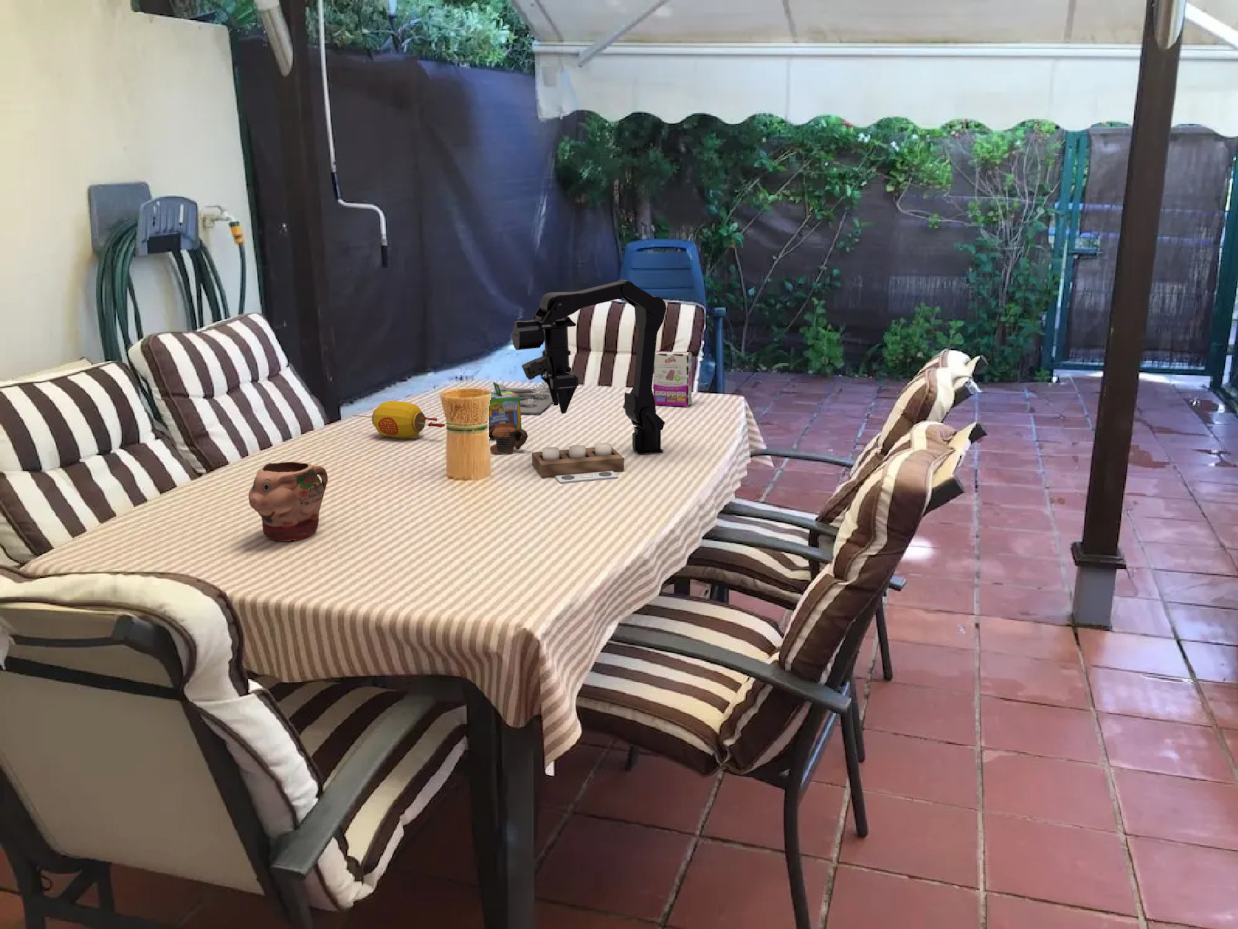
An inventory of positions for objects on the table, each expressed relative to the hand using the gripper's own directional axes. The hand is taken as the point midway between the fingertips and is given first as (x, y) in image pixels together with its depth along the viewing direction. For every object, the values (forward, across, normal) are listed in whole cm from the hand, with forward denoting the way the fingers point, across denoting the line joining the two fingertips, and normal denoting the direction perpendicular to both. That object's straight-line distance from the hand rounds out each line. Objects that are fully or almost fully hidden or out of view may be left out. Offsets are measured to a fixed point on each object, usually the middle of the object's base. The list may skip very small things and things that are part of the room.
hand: (559, 409), depth 249 cm
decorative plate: (+14, -70, +1) cm, 72 cm away
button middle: (+11, +7, +2) cm, 13 cm away
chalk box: (+13, -31, -10) cm, 35 cm away
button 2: (+11, +7, +9) cm, 16 cm away
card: (+13, +16, +3) cm, 21 cm away
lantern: (+13, -37, -38) cm, 54 cm away
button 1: (+11, +7, -4) cm, 14 cm away
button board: (+13, +7, +2) cm, 15 cm away
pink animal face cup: (+12, +36, -62) cm, 73 cm away
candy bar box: (+15, -54, +46) cm, 73 cm away
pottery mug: (+13, -15, -11) cm, 23 cm away
